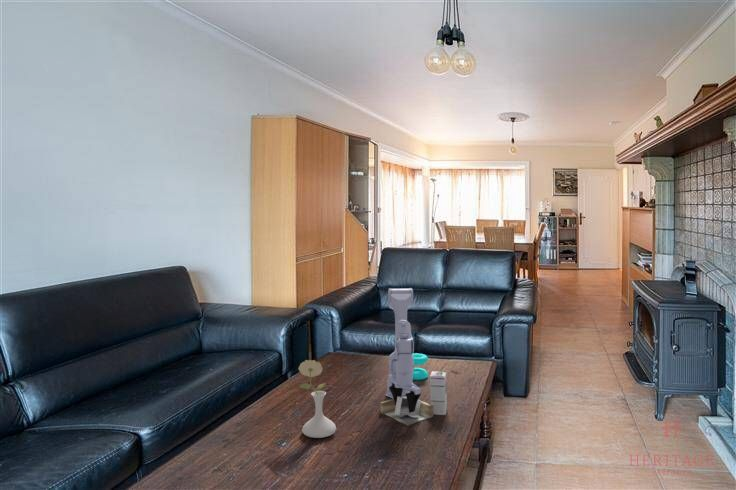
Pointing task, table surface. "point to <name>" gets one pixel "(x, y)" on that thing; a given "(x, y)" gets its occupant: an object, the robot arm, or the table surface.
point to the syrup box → (438, 392)
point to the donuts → (419, 372)
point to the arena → (389, 410)
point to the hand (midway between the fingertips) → (404, 408)
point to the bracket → (406, 407)
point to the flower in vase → (316, 404)
